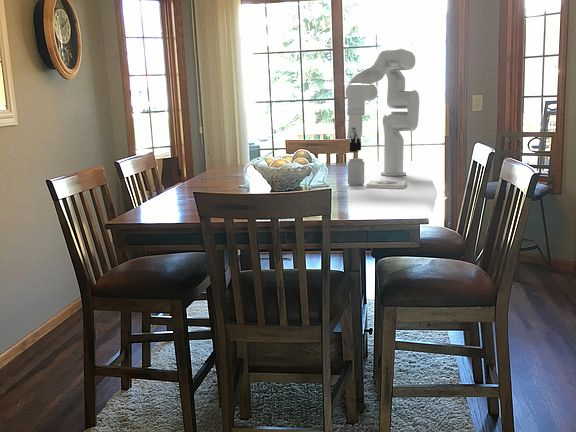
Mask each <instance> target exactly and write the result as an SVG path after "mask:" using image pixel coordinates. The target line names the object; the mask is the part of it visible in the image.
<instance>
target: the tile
mask: <svg viewBox="0 0 576 432" xmlns="http://www.w3.org/2000/svg"><path fill="white" fill-rule="evenodd" d="M406 186H407V181H406V180H370V181H369V182H368V183H366V185H365V187H366V188H367V189H369V188H370V189H397V188H403V189H404V188H405V187H406Z"/></svg>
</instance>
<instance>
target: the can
mask: <svg viewBox="0 0 576 432" xmlns="http://www.w3.org/2000/svg"><path fill="white" fill-rule="evenodd" d="M347 184H348V185H349V186H351V187H361V186H363V185H364V184H365V161H364V159H363V158H360V157H359V158H357V157H356V158H355V157H354V158H349V159H348V162H347Z"/></svg>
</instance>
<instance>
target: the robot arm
mask: <svg viewBox="0 0 576 432" xmlns="http://www.w3.org/2000/svg"><path fill="white" fill-rule="evenodd" d="M415 65H416V56H415V54H414V53H413V52H412V51H410V50H407V49H404V48H399V47H397V48H396V47H394V48H383V49H380V50H378V51H377V52H376V53H375V55H374V57H373V58H372V60H371V62H370V63H369V65H368V67H365V69H362V70H361V71H360V72H358V73H356V74H355V75H353V77H352V78H351V79H350V80H349V82H348V84H347V86H346V88H345V97H346V99H347V116H348V124H347V138H349V152H350V153H357V152H358V151H362V137H363V116H365V115H366V114H365V111H366V110H365V109H366V108H365V107H366V106H365V105H366V102H369V101H373V100H375V99H376V98H377V96H378V92H379V91H378V88H377V86H376V85H375V84H376V83H377V82H379V81H381V80H382V79H384V77H385V75H386V79H387V93H386V95H387V96H386V104H387V107H388V108H389V109H393V110H394V109H396V110H403V109H405V110H406V111H389V112H386V113H385V114H383V117H382V126H383V127H382V128H383V133H384V135H383V136H384V138H383V139H384V141H383V142H384V147H383V149H384V150H383V151H384V152H383V153H384V154H383V157H384V158H383V167H384V168H383V171H381V172H380V175H381V176H387V177H400V176H406V175H407V172H406V171H404V143H405V142H404V141H405V140H404V137H403V135H402V133H401V132H413V131H416V130H417V128H418V123H419V114H420V95H419V92H418V91H417V90H416V89H413V88H409V89H407V88H406V78H405V76H404V74H403V73H402V71H408V70H413V69H414V67H415ZM374 83H375V84H374Z"/></svg>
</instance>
